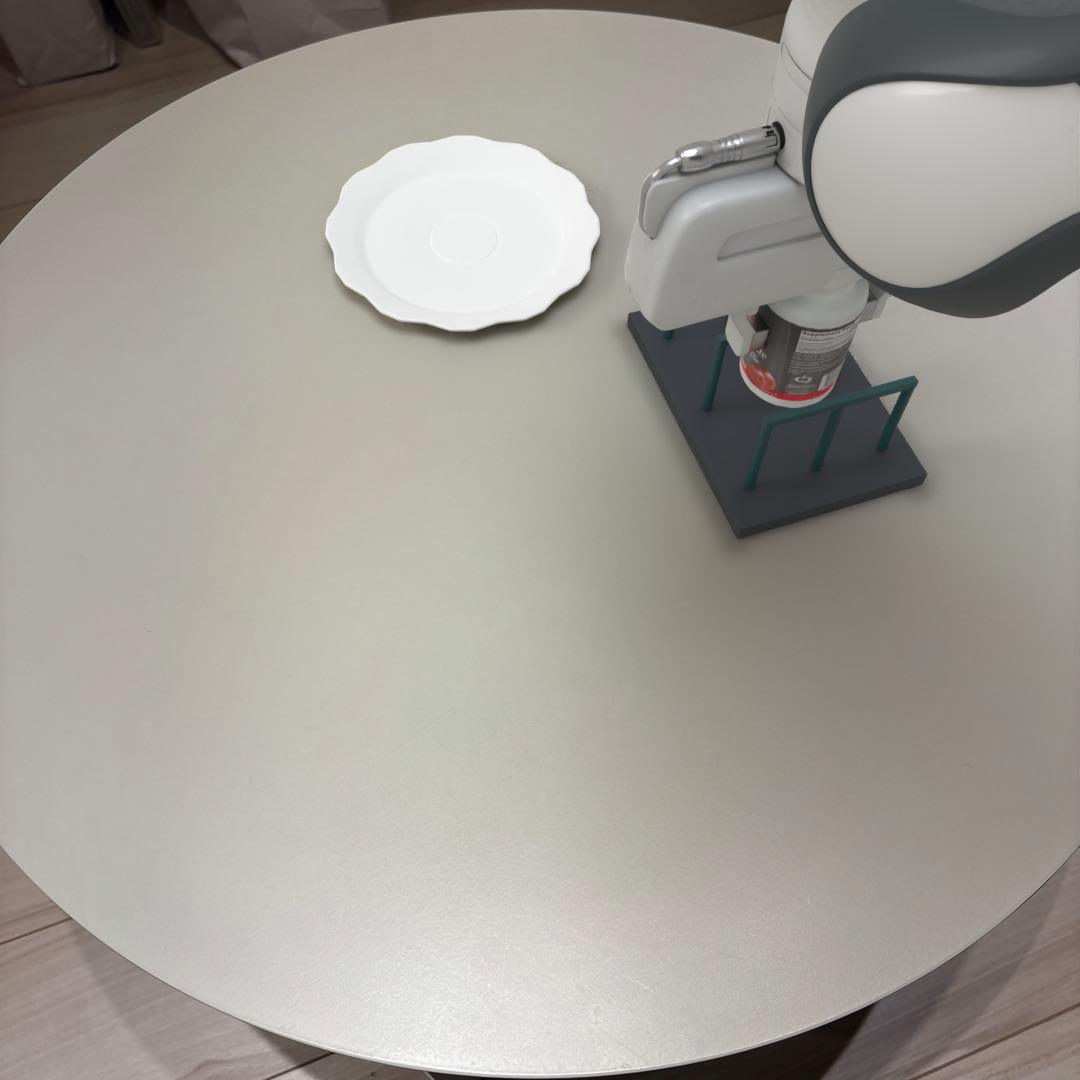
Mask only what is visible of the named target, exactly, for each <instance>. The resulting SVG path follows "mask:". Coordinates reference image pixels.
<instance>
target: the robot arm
mask: <svg viewBox="0 0 1080 1080" xmlns="http://www.w3.org/2000/svg"><path fill="white" fill-rule="evenodd" d="M761 124H762V126H759V127H754V128H749V129H746V130H741V131H737V132H735V133H732V134H730V135H727V136H725V137H722V138H717V139H713V140H697V141H694V142H690V143H687V144H684V145H683V146H680V147H678V148H677V149H676V150H675V151H674V157H672V158H670V159H668V160H665V161H664V162H663V163H662V164H660V165H658V166H657V167H656V168H655V169H654V170H653V171H650V172H649V173H647V175H645V177H644V178H643V181H642V183H641V185H640V190H639V197H638V206H637V216H636V219H635V222H634V226H633V229H632V232H631V236H630V240H629V244H628V248H627V253H626V258H625V263H624V272H623V273H624V281H625V283H626V286H627V289H628V291H629V293H630V295H631V297H632V299H633V301H634V303H635V305H636V306H637V308H638V311H641V313H642V314H643V316H644V317H645V318H646V319H647V320H648V321H649V322H650V323H651V324H653V325H654V326H655V327H657V328H658V329H660V330H663V331H666V330H672V329H676V328H680V327H683V326H687V325H691V324H694V323H698V322H702V321H706V320H709V319H713V318H717V317H721V316H725V315H729V316H728V321H727V325H726V329H725V333H726V338H727V341H728V343H729V344H730V346H731V348H732V349H733V351H734V353H735V354H736V355H737V356H742V355H745V354H747V353H751V352H754V351H758V350H761V349H764V348H765V346H766V343H765V341H766V340H767V339H768V336H769V332H770V328H769V327H768V325H767V324H766V323H765V321H764V320H763V319H761V318H760V314H759V312H758V309H759V306H762V305H766V304H770V303H773V302H777V301H781V300H785V299H788V298H792V297H796V296H800V295H803V294H807V293H811V292H815V291H818V290H822V289H823V287H824V286H825V285H826V284H827V283H828V282H829V280H830V277H831V274H832V273H833V272H835V271H837V270H841V269H844V268H848V267H850V268H851V269H853V270H854V271H855V272H856V280H860V279H866V280H867V281H868V284H869V294H868V299H867V303H866V306H865V308H864V310H863V313H862V316H861V318H860V321H859V324H862V323H865V322H868V321H873V320H876V319H879V318H880V317H881V315H882V312H883V310H884V307H885V305H886V303H887V300H888V298H890V297H894V298H896V299H899V300H901V301H902V302H906V303H907V304H910V305H914V306H917V307H920V308H922V309H925V310H926V311H931V312H934V313H939V314H942V315H946V316H951V317H955V318H961V319H986V318H991V317H998V316H1000V315H1003V314H1006V313H1009V312H1011V311H1014V310H1017V309H1018V308H1021V307H1022V306H1024V305H1025V304H1027V303H1029V302H1031V301H1032V300H1034V299H1036V298H1037V297H1039V296H1040V295H1042V294H1044V293H1045V292H1046V291H1047V290H1049V289H1051V288H1052V287H1054V286H1055V285H1056V284H1058V283H1059V282H1061V281H1063V280H1064V279H1065V278H1067V277H1068V276H1070V275H1071V274H1074V273H1075V272H1076V271H1079V270H1080V0H791V1H790V4H789V6H788V9H787V12H786V15H785V19H784V23H783V28H782V32H781V35H780V40H779V44H778V49H777V53H776V58H775V63H774V67H773V72H772V76H771V81H770V85H769V90H768V94H767V98H766V103H765V106H764V111H763V116H762V123H761ZM856 280H855V281H856Z"/></svg>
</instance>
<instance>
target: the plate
mask: <svg viewBox="0 0 1080 1080" xmlns="http://www.w3.org/2000/svg"><path fill="white" fill-rule="evenodd" d="M324 236H325V239H326V241H327V243H328V245H329V247H330V248H331V249H330V250H332V254H333V263H334V265H333V266H334V271H335V274H336V275H337V276H338V278H339V279H340V281H341V283H342V284H343V285H344V286H345V287H347V288H348V289H350V290H352V291H353V292H355V293H357V294H359V295H360V296H362V297H364V298H365V299H366V300H367V301H368V302H369V303H370V304H371V305H372V306H373V308H375V309H376V311H378V312H379V314H382V315H384V316H387V317H389V318H391V319H393V320H396V321H398V322H402V323H414V324H424V325H429V326H431V327H435V328H438V329H442V330H445V331H447V332H476V331H479V330H482V329H485V328H488V327H492V326H494V325H495V326H496V325H498V324H505V323H506V324H507V323H515V322H524V321H527V320H530V319H531V318H534V317H536V316H538V315H541V314H542V313H545V312H546V311H547V310H548V309H549V307H550V306H552V305H553V304H554V303H555V301H556V300H557V299H558V298H559V297H561V296H562V295H564V294H566V293H568V292H570V291H571V290H573V289H574V288H576V287H578V286H580V284H581V283H582V282H583V280H584V279H585V277H586V276H587V275H588V273H589V272H590V271H591V270H590V269H591V260H592V253H593V250H594V249H595V246H596V244H597V242H598V241H599V238H600V236H601V225H600V217H599V216H598V214H597V213H596V211H595V210H594V209H593V207H592V205H591V204H590V202H589V199H588V194H587V192H586V188H585V185H584V183H582V181H581V180H580V179H579V178H578V177H577V176H576V175H575V174H574V173H573V172H572V171H569V170H567V169H566V168H564V167H562V166H560V165H558V164H556V163H554V162H553V161H551V160H550V159H549V158H548V157H547V156H546V155H544V154H543V153H542V152H541V151H540V150H538V149H535V148H533V147H531V146H528V145H525V144H523V143H518V142H509V141H507V142H505V141H497V140H493V139H489V138H486V137H482V136H478V135H469V134H468V135H465V134H464V135H462V134H461V135H451V136H447V137H444V138H440V139H436V140H432V141H423V142H412V143H406V144H403V145H401V146H399V147H396V148H393V149H391V150H389V151H388V152H386V153H385V154H384V155H383V156H382V157H381V158H379V159H378V160H377V161H376V162H374V163H373V164H371V165H369V166H366V167H365V168H363V169H361V170H359V171H357V172H354V173H353V174H352V175H351V177H350V178H349V179H348V180H347V181H345V183H344V184H343V185H342V187H341V191H340V194H339V198H338V201H337V204H336V205H335V206H334V208H333V210H332V211H331V213H330V214H329V215H328V216H327V218H326V223H325V234H324Z"/></svg>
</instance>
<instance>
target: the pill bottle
mask: <svg viewBox="0 0 1080 1080" xmlns="http://www.w3.org/2000/svg"><path fill="white" fill-rule="evenodd" d="M855 280H856V272H855V271H854V270H853V269H851V268H850V267H848V268H844V269H841V270H837V271H835V272H833V273H832V274H831V277H830V280H829V282H828V283H827V284H826V285H825V286H824V287H823V289H822V290H818V291H815V292H811V293H807V294H803V295H800V296H796V297H792V298H788V299H785V300H781V301H777V302H773V303H770V304H766V305H762V306H759V309H758V312H759V314H760V318H761V319H763V320H764V321H765V323H766V324H767V325H768V327H769V328H770V332H769V336H768V339H767V340H766V341H765V343H766V346H765V348H764V349H761V350H758V351H754V352H751V353H747V354H745V355H742V356H741V357H740V371H741V375H742V377H743V379H744V381H745V383H746V384H747V386H748V387H749V389H750V390H751V391H753V392H754V393H755V394H756V395H757V396H759V397H760V398H762V399H763V400H765V401H767V402H769V403H771V404H774V405H777V406H783V407H789V408H798V407H804V406H808V405H811V404H814V403H817V402H819V401H821V400H822V399H823V398H824V397H826V396H827V395H828V394H829V393H830V391H831V390H832V388H833V387H834V384H835V382H836V380H837V377H838V375H839V373H840V370H841V368H842V365H843V363H844V360H845V358H846V355H847V352H848V350H849V351H850V348H851V345H850V344H852V342H853V340H854V337H855V334H856V332H857V329H858V326H859V324H860V323H859V321H860V318H861V316H862V313H863V310H864V308H865V306H866V303H867V299H868V294H869V284H868V281H867V280H866V279H860V280H856V281H855ZM858 323H859V324H858ZM855 331H856V332H855ZM853 336H854V337H853ZM852 339H853V340H852ZM849 347H850V348H849Z"/></svg>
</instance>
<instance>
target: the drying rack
mask: <svg viewBox="0 0 1080 1080" xmlns="http://www.w3.org/2000/svg"><path fill="white" fill-rule="evenodd" d="M728 316H729V315H725V316H721V317H717V318H713V319H709V320H706V321H702V322H698V323H694V324H691V325H687V326H683V327H680V328H676V329H672V330H666V331H663V330H660V329H658V328H657V327H655V326H654V325H653V324H651V323H650V322H649V321H648V320H647V319H646V318H645V317H644V316H643V314H642V313H641V311H640V310H637V311H632V312H629V313H628V314H627V322H626V324H627V327H628V329H629V331H630V333H631V334H632V337H633V339H634V341H635V343H636V344H637V346H638V348H639V350H640V352H641V354H642V356H643V358H644V360H645V362H646V364H647V366H648V367H649V370H650V371H651V374H652V375H653V378H654V380H655V381H656V383H657V385H658V387H659V389H660V390H661V393H662V395H663V397H664V399H665V401H666V402H667V404H668V406H669V409H670V410H671V412H672V414H673V417H674V418H675V420H676V422H677V424H678V426H679V428H680V430H681V432H682V434H683V436H684V438H685V440H686V441H687V444H688V445H689V447H690V449H691V452H692V453H693V455H694V457H695V459H696V461H697V463H698V465H699V467H700V469H701V470H702V473H703V475H704V477H705V478H706V480H707V482H708V484H709V486H710V488H711V490H712V492H713V494H714V496H715V498H716V500H717V502H718V504H719V505H720V507H721V510H722V511H723V514H724V516H725V517H726V519H727V521H728V523H729V525H730V527H731V529H732V531H733V533H734V535H735V537H736V539H741V538H745V537H749V536H752V535H755V534H758V533H761V532H765V531H768V530H772V529H775V528H778V527H782V526H785V525H788V524H792V523H795V522H796V523H797V522H799V521H803V520H805V519H809V518H813V517H815V516H819V515H822V514H826V513H830V512H832V511H835V510H839V509H843V508H846V507H849V506H852V505H856V504H860V503H864V502H866V501H870V500H873V499H876V498H879V497H883V496H886V495H890V494H893V493H896V492H900V491H903V490H907V489H909V488H913V487H917V486H920V485H923V484H924V482H925V480H926V479H927V477H928V472H927V471H926V469H925V467H924V466H923V464H922V463H921V462H920V460H919V458H918V456H917V455H916V453H915V452H914V450H913V449H912V447H911V445H910V444H909V442H908V441H907V439H906V438H905V436H904V434H903V433H902V431H901V430H900V427H898V425H899V423H900V421H901V419H902V417H903V415H904V413H905V410H906V408H907V406H908V404H909V403H910V400H911V398H912V395H913V393H914V391H915V389H916V388H917V386H918V385H919V380H918V378H917V376H915V375H910V376H906V377H902V378H899V379H896V380H893V381H892V380H891V381H889V382H885V383H881V384H878V385H874V386H872V384H871V383H870V380H869V379H868V378H867V377H866V374H865V373H864V372H863V370H862V368H861V367H860V366H859V364H858V362H857V361H856V359H855V357H854V356H853V355H852V353H851V351H850V348H851V344H852V343H851V344H850V347H849V350H848V352H847V355H846V358H845V360H844V363H843V365H842V368H841V370H840V373H839V375H838V377H837V380H836V382H835V384H834V387H833V388H832V390H831V391H830V393H829V394H828V395H827V396H826V397H824V398H823V399H822V400H821V401H819V402H817V403H814V404H811V405H808V406H804V407H798V408H789V407H783V406H777V405H774V404H771V403H769V402H767V401H765V400H763V399H762V398H760V397H759V396H757V395H756V394H755V393H754V392H753V391H751V390H750V389H749V387H748V386H747V384H746V383H745V381H744V379H743V377H742V375H741V371H740V357H741V356H737V355H736V354H735V353H734V351H733V349H732V348H731V346H730V344H729V343H728V341H727V338H726V333H725V329H726V325H727V321H728ZM858 325H860V323H858ZM856 332H857V330H856V331H855V333H856ZM854 337H855V335H854V336H853V339H852V341H853V340H854ZM897 393H899V395H898V398H897V399H896V402H895V404H894V405H893V409H892V410H891V412H889V411H888V410H887V408H886V406H885V404H884V403H883V401H882V400H881V398H884V397H886V396H890V395H894V394H897Z"/></svg>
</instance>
